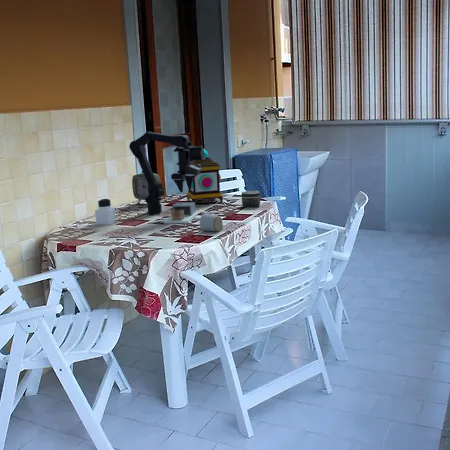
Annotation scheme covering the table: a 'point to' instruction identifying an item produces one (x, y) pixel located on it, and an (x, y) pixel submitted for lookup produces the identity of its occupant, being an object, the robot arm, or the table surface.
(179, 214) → the block
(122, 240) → the table surface
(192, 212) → the cover
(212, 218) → the ceramic mug
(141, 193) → the tabletop clock
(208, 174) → the decorative lantern
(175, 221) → the board
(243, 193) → the jar
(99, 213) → the medicine bottle
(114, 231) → the table surface
